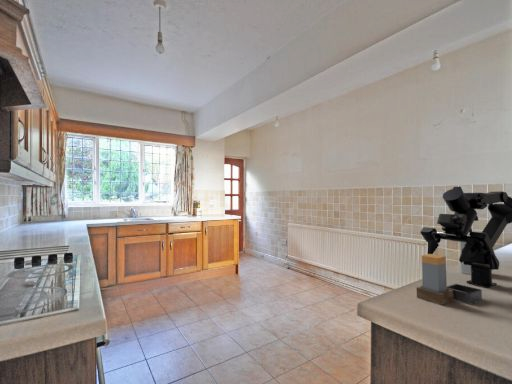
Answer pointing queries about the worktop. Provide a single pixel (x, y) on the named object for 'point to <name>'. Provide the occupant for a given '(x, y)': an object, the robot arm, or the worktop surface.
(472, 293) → the socket
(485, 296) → the worktop surface
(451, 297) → the square frame
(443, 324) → the worktop surface
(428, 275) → the plug
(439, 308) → the worktop surface
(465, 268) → the small box
